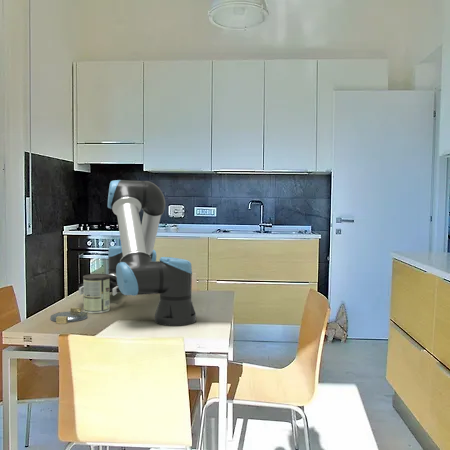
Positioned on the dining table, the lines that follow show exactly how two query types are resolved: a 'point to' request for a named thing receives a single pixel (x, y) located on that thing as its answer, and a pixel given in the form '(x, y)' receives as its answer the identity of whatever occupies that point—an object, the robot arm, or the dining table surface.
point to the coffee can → (96, 293)
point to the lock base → (69, 316)
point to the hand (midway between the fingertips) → (96, 291)
